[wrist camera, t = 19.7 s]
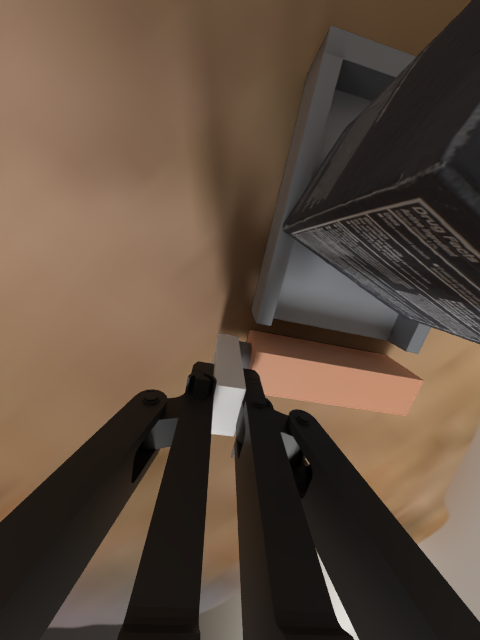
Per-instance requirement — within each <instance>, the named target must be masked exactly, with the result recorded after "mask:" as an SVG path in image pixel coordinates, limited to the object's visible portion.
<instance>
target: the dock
mask: <svg viewBox="0 0 480 640" xmlns="http://www.w3.org/2000/svg"><path fill="white" fill-rule="evenodd" d="M415 58H416V56H413V55H411V54H408V53H405V52H402V51H400V50H397V49H394V48H392V47H389V46H386V45H383V44H381V43H378V42H375V41H373V40H370V39H367V38H364V37H362V36H359V35H356V34H354V33H351V32H348V31H345V30H343V29H340V28H337V27H334V26H332V25H331V26H330V28H329V30H328V32H327V34H326V36H325V38H324V40H323V43H322V45H321V47H320V49H319V51H318V53H317V55H316V57H315V59H314V61H313V63H312V66H311V68H310V70H309V72H308V74H307V78H306V82H305V87H304V91H303V95H302V99H301V103H300V108H299V112H298V116H297V120H296V124H295V128H294V133H293V137H292V141H291V145H290V149H289V154H288V158H287V162H286V166H285V170H284V175H283V179H282V183H281V187H280V191H279V196H278V200H277V204H276V208H275V212H274V217H273V221H272V225H271V229H270V233H269V237H268V242H267V246H266V250H265V254H264V258H263V263H262V267H261V271H260V275H259V279H258V284H257V288H256V292H255V296H254V300H253V305H252V309H251V311H252V314H253V316H254V318H255V321H256V323H258V324H264V325H269V326H271V325H272V321H273V319H278V320H284V321H289V322H294V323H299V324H304V325H309V326H315V327H320V328H325V329H330V330H335V331H340V332H346V333H351V334H356V335H361V336H366V337H371V338H377V339H382V340H387V341H389V342H391V343H392V344H394V345H396V346H398V347H399V348H401V349H403V350H404V351H407V352H412V353H417V354H418V353H419V351H420V349H421V347H422V345H423V343H424V341H425V339H426V337H427V335H428V333H429V331H430V329H431V327H430V326H427V325H423V324H421V323H418V322H415V321H412V320H409V319H406V318H403V317H402V316H401V315H399V314H398V313H397V312H395V311H394V310H392V309H391V308H389V307H388V306H387V305H385V304H383V303H382V302H381V301H379V300H377V299H376V298H375V297H374V296H372V295H371V294H370V293H368V292H366V291H365V290H364V289H362V288H360V287H359V286H358V285H357V284H356V283H354V282H353V281H351V280H350V279H349V278H348V277H346V276H345V275H343V274H342V273H341V272H339V271H338V270H336V269H335V268H334V267H332V266H331V265H329V264H327V263H326V262H325V261H324V260H323V259H321V258H320V257H319V256H317V255H316V254H314V253H313V252H312V251H310V250H309V249H308V248H306V247H305V246H303V245H302V244H300V243H299V242H298V241H296V240H295V239H294V238H293V237H291V236H290V235H289V234H287V233H285V232H284V231H283V224H284V222H285V221H286V219H287V218H288V216H289V214H290V213H291V211H292V210H293V208H294V207H295V205H296V203H297V202H298V200H299V199H300V197H301V196H302V194H303V193H304V191H305V189H306V188H307V186H308V185H309V183H310V182H311V180H312V178H313V177H314V175H315V174H316V172H317V170H318V169H319V167H320V166H321V164H322V163H323V161H324V160H325V158H326V156H327V155H328V153H329V152H330V150H331V149H332V147H333V146H334V144H335V143H336V141H337V140H338V138H339V137H340V135H341V133H342V132H343V131H344V129H345V128H346V127H347V126H348V125H349V124H350V123H351V122H352V121H353V120H354V119H355V118H356V117H358V116H359V115H360V114H361V112H362V111H363V110H364V109H365V108H366V107H367V106H368V105H369V104H370V103H371V102H372V101H373V100H374V99H375V98H376V97H377V96H378V95H379V94H380V93H381V92H382V91H383V90H384V89H385V88H386V87H387V86H388V85H389V84H390V83H391V82H392V81H393V80H394V79H395V78H396V77H397V76H398V75H399V74H400V73H401V72H402V71H403V70H404V69H405V68H406V67H407V66H408V65H409V64H410V63H411V62H412V61H413V60H414V59H415Z"/></svg>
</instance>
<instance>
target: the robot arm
mask: <svg viewBox="0 0 480 640" xmlns="http://www.w3.org/2000/svg"><path fill="white" fill-rule="evenodd" d="M235 431H236V434H237V436H236V440H235V444H234V447H233V451H232V455H231V458H233V457H234V454H235V472H236V494H237V516H238V538H239V560H240V582H241V603H242V626H243V640H354V639H353V637H352V636H351V635H349V633H347V632H346V631H345V630H343V629H342V628H341V626H340V624H339V623H338V621H337V618H336V616H335V613H334V610H333V606H332V603H331V599H330V596H329V593H328V589H327V586H326V583H325V579H324V576H323V573H322V569H321V566H320V563H319V559H318V556H317V552H318V554H319V556H320V558H321V561H322V562H323V565H324V567H325V569H326V571H327V573H328V575H329V577H330V579H331V581H332V584H333V586H334V588H335V590H336V592H337V594H338V596H339V598H340V600H341V602H342V605H343V607H344V609H345V611H346V613H347V615H348V617H349V619H350V621H351V623H352V625H353V627H354V630H355V632H356V634H357V636H358V638H359V640H480V622H479V621H478V620H477V618H476V617H475V616H474V615H473V613H472V612H471V611H470V610H469V608H468V607H467V606H466V605H465V603H464V602H463V601H462V600H461V598H460V597H459V596H458V595H457V593H456V592H455V591H454V590H453V589H452V587H451V586H450V585H449V584H448V582H447V581H446V580H445V579H444V577H443V576H442V575H441V574H440V572H439V571H438V570H437V569H436V567H435V566H434V565H433V564H432V563H431V561H430V560H429V559H428V558H427V557H426V555H425V554H424V553H423V551H422V550H421V549H420V548H419V547H418V545H417V544H416V543H415V542H414V540H413V539H412V538H411V537H410V535H409V534H408V533H407V532H406V530H405V529H404V528H403V527H402V525H401V524H400V523H399V522H398V521H397V519H396V518H395V517H394V516H393V514H392V513H391V512H390V511H389V509H388V508H387V507H386V506H385V504H384V503H383V502H382V501H381V500H380V498H379V497H378V496H377V495H376V493H375V492H374V491H373V490H372V488H371V487H370V486H369V485H368V483H367V482H366V481H365V480H364V479H363V477H362V476H361V475H360V474H359V472H358V471H357V470H356V469H355V467H354V466H353V465H352V464H351V462H350V461H349V460H348V459H347V457H346V456H345V455H344V454H343V453H342V451H341V450H340V449H339V448H338V446H337V445H336V444H335V443H334V441H333V440H332V439H331V438H330V436H329V435H328V434H327V433H326V432H325V430H324V429H323V428H322V427H321V425H320V424H319V423H318V422H317V420H316V419H315V418H314V417H313V416H312V415H310V414H309V413H307V412H305V411H302V410H297V409H296V410H292V411H291V412H290V413H289V416H288V415H285V414H283V413H280V412H278V411H276V410H274V408H273V405H272V403H271V402H270V401H269V400H268V399H267V398H265V395H264V391H263V387H262V384H261V381H260V376H259V374H258V373H257V372H256V371H255V370H251V369H245V368H243V365H242V359H241V352H240V345H239V339H238V337H237V336H232V335H226V334H221V333H218V336H217V341H216V346H215V351H214V356H213V361H212V364H211V363H205V362H199V361H198V362H197V363H195V364H194V365H193V369H192V373H191V374H190V375H189V376H188V379H187V385H186V391H185V393H184V394H183V395H181V396H179V397H176V398H167V396H166V395H165V394H164V393H163V392H161V391H159V390H145V391H142V392H140V393H138V394H137V395H136V396H135V397H133V398H132V399H131V400H130V401H129V402H128V403H127V404H126V405H125V406H124V407H123V408H122V409H121V410H120V411H119V412H117V413H116V414H115V415H114V416H113V417H112V418H111V419H110V420H109V421H108V422H107V423H106V424H105V425H104V426H103V427H101V428H100V429H99V430H98V431H97V432H96V433H95V434H94V435H93V436H92V437H91V438H90V439H89V440H88V441H87V442H85V443H84V444H83V445H82V446H81V447H80V448H79V449H78V450H77V451H76V452H75V453H74V454H73V455H72V456H71V457H69V458H68V459H67V460H66V461H65V462H64V463H63V464H62V465H61V466H60V467H59V468H58V469H57V470H56V471H55V472H53V473H52V474H51V475H50V476H49V477H48V478H47V479H46V480H45V481H44V482H43V483H42V484H41V485H40V486H39V487H37V488H36V489H35V490H34V491H33V492H32V493H31V494H30V495H29V496H28V497H27V498H26V499H25V500H24V501H23V502H21V503H20V504H19V505H18V506H17V507H16V508H15V509H14V510H13V511H12V512H11V513H10V514H9V515H8V516H7V517H5V518H4V519H3V520H2V521H1V522H0V640H40V639H41V637H42V635H43V634H44V632H45V631H46V629H47V628H48V626H49V624H50V623H51V621H52V620H53V618H54V617H55V615H56V613H57V612H58V610H59V609H60V607H61V605H62V604H63V602H64V601H65V599H66V598H67V596H68V594H69V593H70V591H71V590H72V588H73V587H74V585H75V583H76V582H77V580H78V579H79V577H80V576H81V574H82V572H83V571H84V569H85V568H86V566H87V564H88V563H89V561H90V560H91V558H92V557H93V555H94V553H95V552H96V550H97V549H98V547H99V546H100V544H101V542H102V541H103V539H104V538H105V536H106V534H107V533H108V531H109V530H110V528H111V527H112V525H113V523H114V522H115V520H116V519H117V517H118V516H119V514H120V512H121V511H122V509H123V508H124V506H125V504H126V503H127V501H128V500H129V498H130V497H131V495H132V493H133V492H134V490H135V489H136V487H137V486H138V484H139V482H140V481H141V479H142V478H143V476H144V475H145V473H146V471H147V470H148V468H149V467H150V465H151V463H152V462H153V460H154V459H155V457H156V456H157V454H158V452H159V450H160V448H165V447H171V448H170V452H169V455H168V459H167V463H166V467H165V470H164V474H163V478H162V482H161V485H160V489H159V493H158V497H157V500H156V504H155V508H154V512H153V515H152V519H151V523H150V527H149V530H148V534H147V538H146V542H145V545H144V549H143V553H142V557H141V560H140V564H139V568H138V572H137V575H136V579H135V583H134V587H133V590H132V594H131V598H130V602H129V605H128V609H127V613H126V616H125V619H124V623H123V625H122V628H121V630H120V632H119V635H118V639H117V640H200V630H199V603H200V589H201V574H202V560H203V545H204V531H205V516H206V502H207V487H208V473H209V459H210V444H211V434H218V435H226V436H234V434H235ZM305 458H307V460H308V462H309V463H310V465H309V464H308V463H307V462H306V460H305ZM315 548H316V549H315ZM316 550H317V552H316Z"/></svg>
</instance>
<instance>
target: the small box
mask: <svg viewBox="0 0 480 640" xmlns="http://www.w3.org/2000/svg"><path fill="white" fill-rule="evenodd" d="M283 231H284V232H285V233H287V234H289V235H290V236H291V237H293V238H294V239H295V240H296V241H298V242H299V243H300V244H302V245H303V246H305V247H306V248H308V249H309V250H310V251H312V252H313V253H314V254H316V255H317V256H319V257H320V258H321V259H323V260H324V261H325V262H326V263H327V264H329V265H331V266H332V267H334V268H335V269H336V270H338V271H339V272H341V273H342V274H343V275H345V276H346V277H348V278H349V279H350V280H351V281H353V282H354V283H356V284H357V285H358V286H359V287H360V288H362V289H364V290H365V291H366V292H368V293H370V294H371V295H372V296H374V297H375V298H376V299H377V300H379V301H381V302H382V303H383V304H385V305H387V306H388V307H389V308H391V309H392V310H394V311H395V312H397V313H398V314H399V315H401V316H402V317H403V318H406V319H409V320H412V321H415V322H418V323H421V324H423V325H427V326H430V327H433V328H435V329H439V330H442V331H445V332H447V333H450V334H452V335H456V336H459V337H461V338H463V339H467V340H469V341H472V342H475V343H478V344H480V0H472V1H471V2H470V3H469V4H468V5H467V6H466V7H465V8H464V10H463V11H462V12H461V13H460V14H459V15H458V16H457V17H455V18H454V19H453V20H452V21H451V22H450V23H449V24H448V26H447V27H446V28H445V29H444V30H443V31H442V32H441V33H440V34H439V35H438V36H437V37H436V38H435V39H434V40H433V41H432V42H431V43H430V44H429V45H428V46H427V47H426V48H425V49H424V50H423V51H422V52H421V53H420V54H419V55H418V56H417V57H416V58H415V59H414V60H413V61H412V62H411V63H410V64H409V65H408V66H407V67H406V68H405V69H404V70H403V71H402V72H401V73H400V74H399V75H398V76H397V77H396V78H395V79H394V80H393V81H392V82H391V83H390V84H389V85H388V86H387V87H386V88H385V89H384V90H383V91H382V92H381V93H380V94H379V95H378V96H377V97H376V98H375V99H374V100H373V101H372V102H371V103H370V104H369V105H368V106H367V107H366V108H365V109H364V110H363V111H362V112H361V114H360V115H359V116H358V117H356V118H355V119H354V120H353V121H352V122H351V123H350V124H349V125H348V126H347V127H346V128H345V129H344V131H343V132H342V133H341V135H340V137H339V138H338V140H337V141H336V143H335V144H334V146H333V147H332V149H331V150H330V152H329V153H328V155H327V156H326V158H325V160H324V161H323V163H322V164H321V166H320V167H319V169H318V170H317V172H316V174H315V175H314V177H313V178H312V180H311V182H310V183H309V185H308V186H307V188H306V189H305V191H304V193H303V194H302V196H301V197H300V199H299V200H298V202H297V203H296V205H295V207H294V208H293V210H292V211H291V213H290V214H289V216H288V218H287V219H286V221H285V222H284V224H283Z"/></svg>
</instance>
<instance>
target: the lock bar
mask: <svg viewBox="0 0 480 640" xmlns="http://www.w3.org/2000/svg"><path fill="white" fill-rule="evenodd" d="M239 345H240V352H241V359H242V365H243V368H245V369H251V370H255V371H256V372H257V373H258V374H259V376H260V381H261V384H262V387H263V391H264V395H268V396H275V397H282V398H288V399H295V400H302V401H308V402H315V403H322V404H328V405H335V406H342V407H348V408H355V409H362V410H368V411H375V412H382V413H388V414H395V415H402V416H407V414H408V412H409V410H410V408H411V406H412V404H413V402H414V400H415V398H416V396H417V394H418V392H419V390H420V388H421V386H422V384H423V382H424V380H423V379H421V378H420V377H418V376H417V375H415V374H414V373H412V372H411V371H409V370H408V369H406V368H405V367H403V366H402V365H400V364H399V363H397V362H396V361H394V360H393V359H391V358H390V357H388V356H387V355H384V354H378V353H373V352H368V351H362V350H357V349H351V348H346V347H341V346H335V345H330V344H324V343H319V342H313V341H308V340H303V339H297V338H292V337H286V336H281V335H276V334H270V333H265V332H259V331H254V330H250V331H249V335H248V339H247V342H241V341H239Z"/></svg>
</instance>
